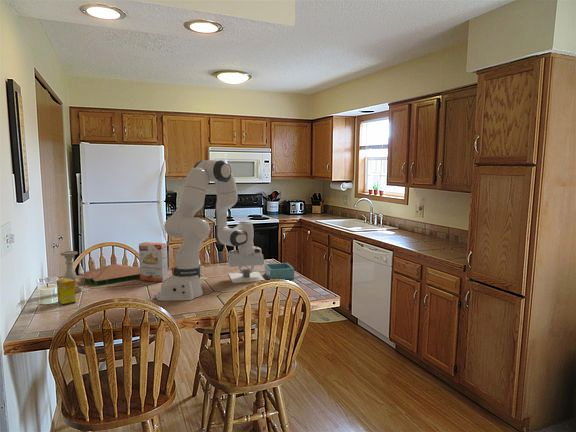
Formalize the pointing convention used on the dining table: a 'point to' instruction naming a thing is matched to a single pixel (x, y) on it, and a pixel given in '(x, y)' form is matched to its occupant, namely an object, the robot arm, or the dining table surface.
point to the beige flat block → (111, 273)
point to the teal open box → (279, 271)
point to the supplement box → (66, 291)
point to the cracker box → (153, 261)
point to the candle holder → (70, 267)
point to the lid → (245, 276)
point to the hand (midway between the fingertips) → (246, 273)
